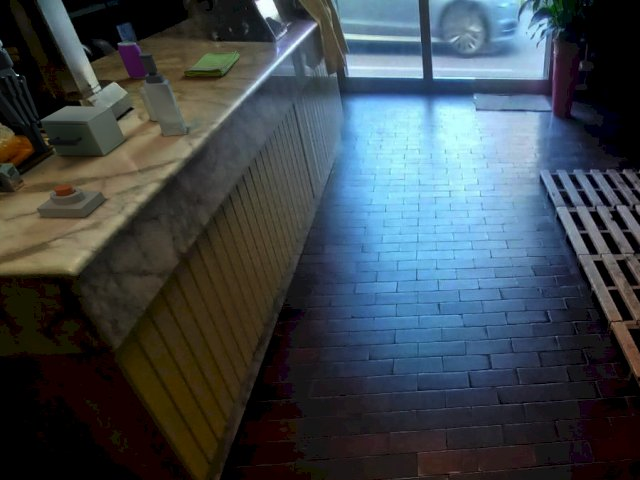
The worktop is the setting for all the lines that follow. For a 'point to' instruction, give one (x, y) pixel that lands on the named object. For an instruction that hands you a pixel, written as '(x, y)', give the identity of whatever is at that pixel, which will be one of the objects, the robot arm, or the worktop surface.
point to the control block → (71, 204)
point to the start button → (64, 190)
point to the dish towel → (213, 65)
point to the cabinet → (91, 125)
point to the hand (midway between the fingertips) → (42, 150)
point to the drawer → (70, 138)
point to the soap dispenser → (162, 99)
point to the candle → (147, 104)
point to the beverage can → (132, 59)
